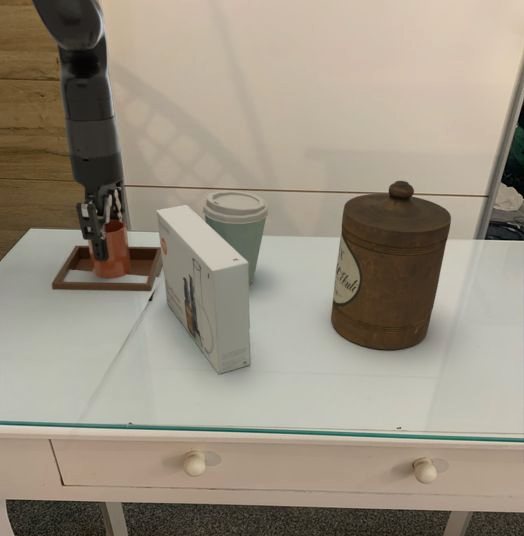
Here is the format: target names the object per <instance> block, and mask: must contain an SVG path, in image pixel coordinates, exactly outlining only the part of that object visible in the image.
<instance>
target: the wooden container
mask: <svg viewBox="0 0 524 536" xmlns="http://www.w3.org/2000/svg"><path fill="white" fill-rule="evenodd" d="M414 194H415V189H414V187H413V186H412V185H411V184H410V183H409V181H406V180H397V181H394V182H393V183H391V184H390V185H389V187H388V193H369V194H368V193H367V194H362V195H357V196H355V197H352V198H350V199H349V200H347V201H346V202H345V203H344V206H343V211H342V218H341V219H342V220H341V231H340V237H339V238H340V239H339V246H338V253H337V262H336V268H335V277H334V285H333V295H332V296H333V297H332V306H331V312H330V313H331V314H330V315H331V316H330V321H331V324H332V327H333V328H334V330H335V331H336V332H337V333H338V334H339V335H340V336H342V337H343V338H344V339H346V340H348V341H350V342H352V343H355V344H357V345H360V346H363V347H367V348H372V349H377V350H378V349H379V350H399V349H405V348H410V347H412V346H415V345H417V344H419V343H420V342H422V340H424V338H425V337H426V336H427V333H428V330H429V326H430V322H431V319H432V317H431V316H432V312H433V308H434V304H435V301H436V296H437V291H438V287H439V281H440V276H441V270H442V266H443V260H444V255H445V251H446V246H447V241H448V238H449V234H450V229H451V223H452V215H451V213H450V212H449V211H448V209H446V208H445V207H443V206H441V205H440V204H438V203H436V202H433V201H431V200H428V199H424V198H421V197H420V198H419V197H417V196H413V195H414Z"/></svg>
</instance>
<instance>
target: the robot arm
mask: <svg viewBox="0 0 524 536" xmlns="http://www.w3.org/2000/svg"><path fill="white" fill-rule="evenodd" d="M30 1H31V3H32V5H33V7H34V9H35V11H36V13H37V15H38V17H39V19H40V21H41V23H42V24H43V26H44V28H45V29H46V31H47V32H48V34H49V35H50V37H51V38H52V40H53V41H54V42H55V43H56V46H57V53H58V58H59V64H60V77H59V89H60V90H59V92H60V97H61V103H62V110H63V114H64V124H65V125H64V126H65V127H64V129H65V138H66V144H67V150H68V156H69V161H70V167H71V173H72V178H73V181H74V182H75V183H77V184H80V185H81V186H83V188H84V201H83V202H77V203H76V206H75V208H76V213H77V217H78V222H79V227H80V232H81V236H82V239H83V240H85V241H88V240H91V241H92V248H93V254H94V259H95V260H98V261H107V259H108V258H109V255H108V248H107V241H106V226H107V225H108V224H109V219H117V220H120V221H123V215H124V214H125V213H126V204H125V203H126V201H125V191H124V180H123V178H124V168H123V159H122V150H121V144H120V142H121V141H120V134H119V128H118V125H117V124H118V123H117V121H116V115H115V106H114V99H113V92H112V85H111V81H110V76H109V63H108V62H109V61H108V42H107V30H106V21H105V15H104V12H103V9H102V7H101V5H100V3H99V2H98V0H30ZM98 217H102V218H98ZM99 224H100V228H99ZM87 227H88V229H87Z"/></svg>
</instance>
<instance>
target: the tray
mask: <svg viewBox="0 0 524 536" xmlns="http://www.w3.org/2000/svg"><path fill="white" fill-rule="evenodd" d="M129 254H130V263H131V271H132V275H131V276H139V277H147V280H146V282H104V281H103V282H102V281H101V282H99V281H95V282H93V281H64V280H65V278H66V277H67V275H68V273H69V271H80V272H90V273H91V272H92V273H93V269H92V263H91V256H90V250H89V245H75V246H74V247H73V249H72V251H71V252H70V254H69V255H68V257H67V258H66V260H65V261H64V263H63V265H62V266H61V268H60V270H59V271H58V273H57V274H56V276H55V277H54V279H53V281H52V283H51V287H52V290H56V291H57V290H58V291H59V290H60V291H62V290H63V291H64V290H65V291H115V292H117V291H119V292H120V291H121V292H122V291H123V292H152V291H153V292H152V293H151V295H150V297H149V299H148V301H153V298H154V295H155V291H156V288H154V290H153V286H154V283H155V280H156V278H159V277H160V275H161V271H162V269H163V262H162V254H161V246H129Z"/></svg>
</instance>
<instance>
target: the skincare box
mask: <svg viewBox="0 0 524 536" xmlns="http://www.w3.org/2000/svg"><path fill="white" fill-rule="evenodd" d="M155 212H156V217H157V219H156V220H157V227H158V228H157V229H158V236H159V237H158V238H159V245H160V247H161V254H162V262H163V265H162V269H163V271H162V272H163V278H164V286H165V295H166V303H167V305H168V306H169V307H170V309H171V310H172V311H173V313H174V314H175V316H176V317H177V319H178V320H179V321H180V323H181V324H182V325H183V327H184V329H185V330H186V331H187V333H188V334H189V335H190V337H191V338H192V340H193V341H194V343H195V344H196V345H197V347H198V348H199V349H200V351H201V352H202V353H203V355H204V356H205V358H206V359H207V360H208V362H209V363H210V364H211V366H212V367H213V368H214V371H216V372H217V374H218V375H220V374H224V373H228V372H231V371H234V370H237V369H240V368H244V367H247V366H250V365H251V363H252V361H251V336H250V335H251V334H250V329H251V321H250V319H251V318H250V317H251V316H250V285H249V273H248V267H249V264H248V262H247V261H246V260H245V259H244V258H243V257H242V256H241V255H240V254H239V253H238V252H237V251H236V250H235V249H234V248H233V247H232V246H230V245H229V244H228V243H227V242H226V241H225V240H224V239H223V238H222V237H221V236H220V235H219V234H218V233H216V232H215V231H214V230H213V229H212V228H211V227H210V226H209V225H208V224H207V223H206V220H204V219H203V218H201V216H199V215H198V214H197V213H196V212H195V211H194V210H193V209H192V208H191V207H190V206H189V205H188V204H182V205H178V206H172V207H165V208H161V209H156V211H155Z"/></svg>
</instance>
